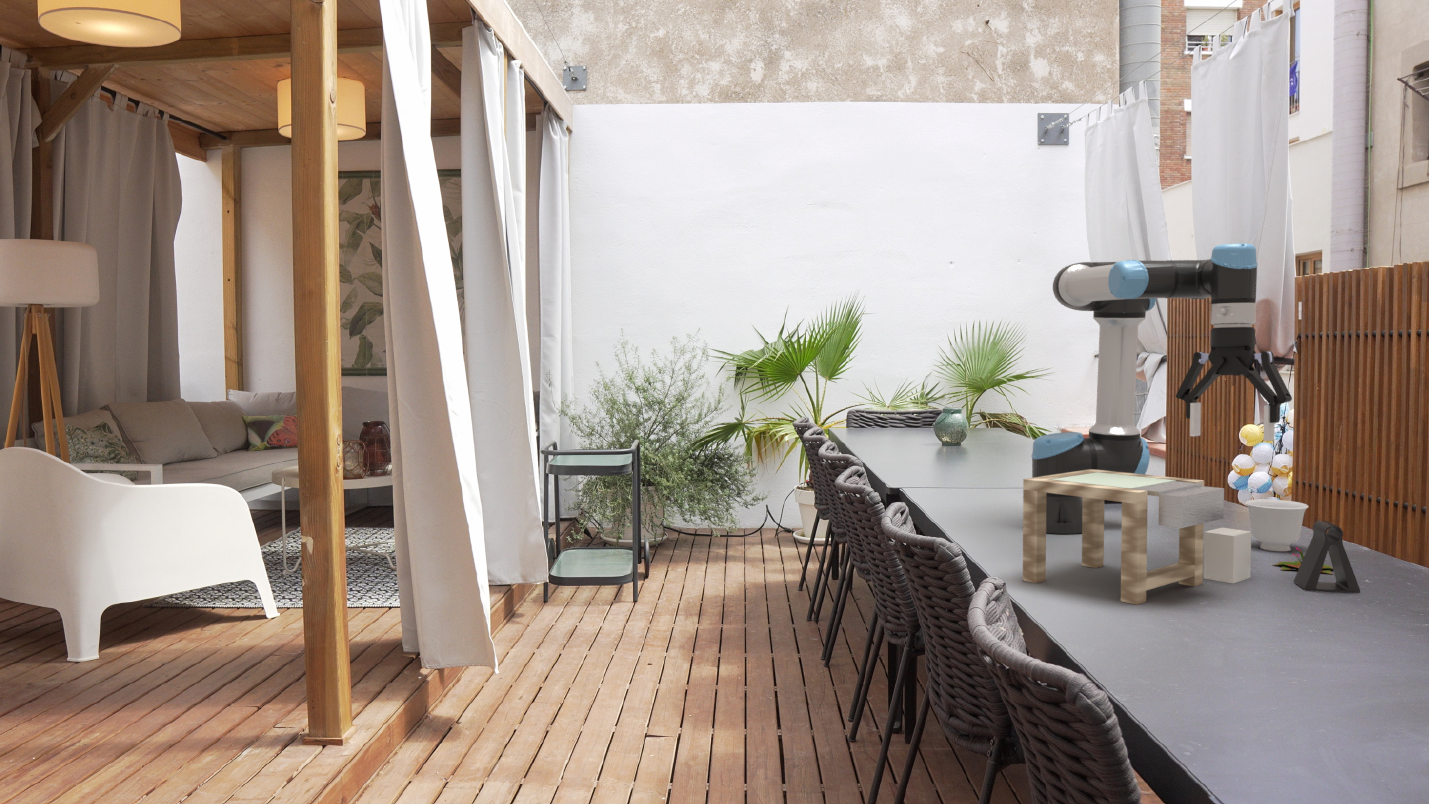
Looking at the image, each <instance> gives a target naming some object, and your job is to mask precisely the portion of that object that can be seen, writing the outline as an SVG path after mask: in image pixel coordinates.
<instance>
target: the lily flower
mask: <svg viewBox="0 0 1429 804" xmlns="http://www.w3.org/2000/svg"><path fill="white" fill-rule="evenodd" d="M1295 549H1296V551H1298V552H1299V553H1296V554H1295V553H1292V556H1295V557H1296V558H1297V560H1295V561H1280V560H1278V563H1275V564H1272V565H1271V566H1275V567H1276V566H1281V569H1280V571H1294V569H1293V568H1296V569H1298V568H1299V567H1300V565H1301V563H1302V560H1303V558H1304V556H1305V555H1304V554H1303V551H1302V550H1301V548H1299V547H1297V546H1295ZM1331 570H1332V571H1334V570H1333V567H1332V565H1331V566H1330V564H1328V565H1327V564H1324V565H1323V568H1322V571H1321V574H1322V573H1323V574H1328V575H1329V574H1330V575H1334V572H1332V571H1331Z"/></svg>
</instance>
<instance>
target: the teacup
mask: <svg viewBox="0 0 1429 804" xmlns="http://www.w3.org/2000/svg"><path fill="white" fill-rule="evenodd" d="M1244 503H1245V505H1246V506H1247V509H1248V513H1249V521H1250V529H1251V535H1253V538H1254V539H1255V540H1257V542H1260V549H1262V550H1265V551H1269V552H1290V551H1291V545H1293V544H1295V543H1296V542H1297V541H1298V540H1299V539H1300V536H1301V533H1302V528H1303V527H1302V526H1303V521H1304V516H1305V513H1306V510H1307V509H1308V508H1309V505H1308V504H1306V503H1303V502H1299V501H1293V500H1283V499H1265V498H1264V499H1262V498H1258V499H1248V500H1246V501H1245V502H1244Z"/></svg>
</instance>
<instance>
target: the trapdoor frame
mask: <svg viewBox="0 0 1429 804" xmlns="http://www.w3.org/2000/svg"><path fill="white" fill-rule="evenodd" d="M1096 472H1100V473H1110V474H1120V475H1129V476H1139V477H1149V478H1159V479H1168V480H1176V481H1179V482H1189V483H1198V484H1202V486H1205V480H1202V479H1193V478H1184V477H1183V478H1182V477H1174V476H1173V477H1172V476H1162V475H1153V474H1145V475H1144V474H1134V473H1124V472H1114V471H1104V470H1095V469H1089V470H1082V471H1075V472H1069V473H1062V474H1055V475H1048V476H1041V477H1035V478H1032V477H1029V478H1024V479H1023V480H1022V482H1023V483H1022V484H1023V486H1022V487H1023V488H1022V489H1023V491H1022V492H1023V495H1022V497H1023V499H1022V500H1023V501H1022V502H1023V504H1022V508H1023V509H1022V511H1023V512H1022V514H1023V515H1022V518H1023V519H1022V523H1023V524H1022V581H1023V580H1024V582H1028V583H1034V584H1039V583H1043V582H1046V581H1047V574H1046V573H1047V533H1046V492H1047V493H1054V494H1062V495H1070V496H1078V497H1082V498H1083V511H1082V533H1081V535H1082V536H1081V538H1082V539H1081V566H1083V567H1087V568H1088V567H1089V568H1094V569H1097V568H1101V567H1104V566H1105V563H1104V562H1105V559H1104V558H1105V501H1109V502H1110V501H1111V502H1117V503H1118V502H1120V503H1121V545H1120V546H1121V551H1120V554H1121V555H1120V556H1121V557H1120V559H1121V560H1120V561H1121V562H1120V602H1123V603H1127V604H1132V605H1136V606H1137V605H1142V604H1144V603H1147V591H1150V590H1152V589H1156V588H1159V587H1163V586H1166V585H1169V584H1173V583H1176V582H1178V584H1179V585H1183V586H1189V587H1198V586H1201V585H1203V581H1204V580H1203V579H1204V525H1205V523H1202V524H1198V525H1193V526H1189V527H1185V528H1178V529H1179V531H1178V533H1179V534H1178V536H1179V537H1178V539H1179V540H1178V542H1179V543H1178V562H1177V563H1172V564H1169V565H1165V566H1161V567H1158V568H1154V569H1151V570H1148V569H1147V566H1148V561H1147V559H1148V556H1147V555H1148V505H1149V503H1148V501H1149V499H1148V496H1149V495H1148V491H1145V490H1136V489H1127V488H1118V487H1110V486H1101V485H1092V484H1083V483H1075V482H1066V481H1057V480H1050V479H1056V478H1063V477H1069V476H1076V475H1082V474H1089V473H1096Z"/></svg>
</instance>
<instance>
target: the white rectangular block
mask: <svg viewBox="0 0 1429 804" xmlns="http://www.w3.org/2000/svg"><path fill="white" fill-rule="evenodd" d="M1251 556H1252V530H1251V531H1249V530H1242V529H1235V528H1230V527H1229V528H1228V527H1219V528H1213V529H1211V530H1210V529H1209V530H1207V531H1203V579H1205V580H1211V581H1212V580H1213V581H1215V582H1216V581H1217V582H1223V583H1227V584H1237V583H1239V582H1242V581H1245V580H1246V581H1247V580H1248V579H1251V563H1252V562H1251V559H1252V557H1251Z"/></svg>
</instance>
